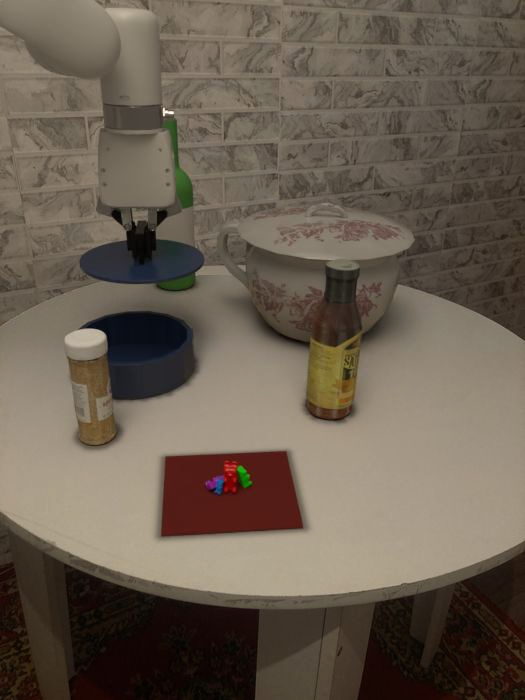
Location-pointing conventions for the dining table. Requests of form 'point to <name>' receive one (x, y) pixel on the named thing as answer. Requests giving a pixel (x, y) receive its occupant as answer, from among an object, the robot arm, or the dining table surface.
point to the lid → (141, 261)
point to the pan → (145, 352)
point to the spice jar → (91, 385)
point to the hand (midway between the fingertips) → (142, 254)
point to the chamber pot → (315, 261)
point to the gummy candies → (229, 479)
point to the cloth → (228, 495)
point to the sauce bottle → (335, 344)
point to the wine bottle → (182, 223)
